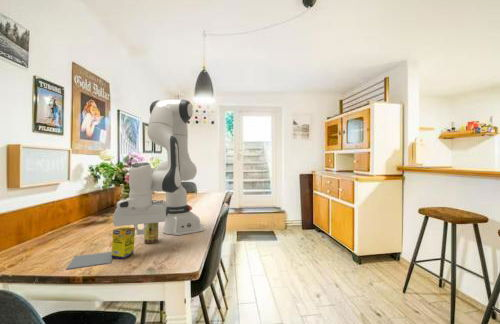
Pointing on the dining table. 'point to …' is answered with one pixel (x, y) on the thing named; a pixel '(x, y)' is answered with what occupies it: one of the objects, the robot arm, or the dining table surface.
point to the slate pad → (90, 260)
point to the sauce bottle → (151, 232)
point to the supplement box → (123, 242)
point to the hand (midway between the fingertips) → (140, 234)
